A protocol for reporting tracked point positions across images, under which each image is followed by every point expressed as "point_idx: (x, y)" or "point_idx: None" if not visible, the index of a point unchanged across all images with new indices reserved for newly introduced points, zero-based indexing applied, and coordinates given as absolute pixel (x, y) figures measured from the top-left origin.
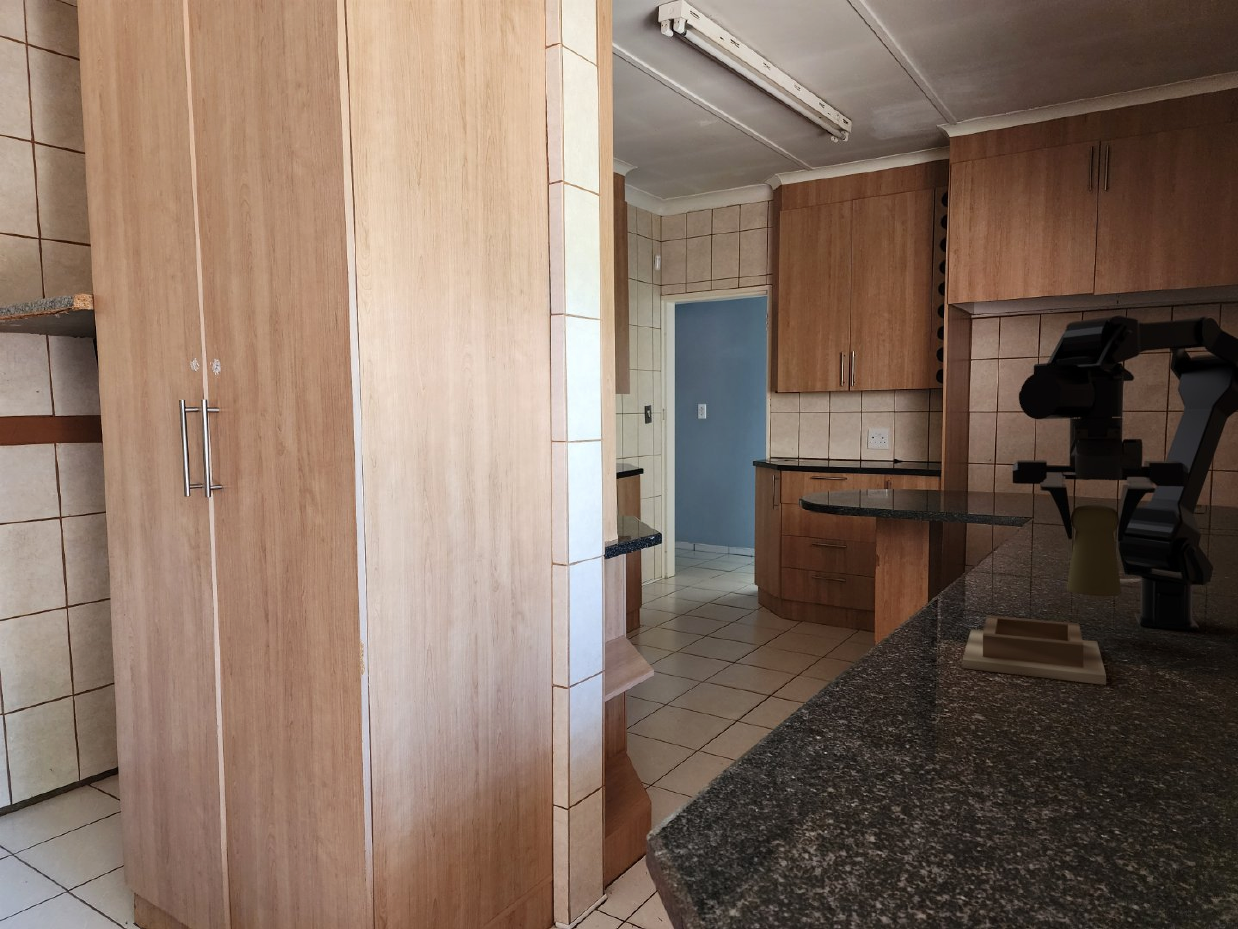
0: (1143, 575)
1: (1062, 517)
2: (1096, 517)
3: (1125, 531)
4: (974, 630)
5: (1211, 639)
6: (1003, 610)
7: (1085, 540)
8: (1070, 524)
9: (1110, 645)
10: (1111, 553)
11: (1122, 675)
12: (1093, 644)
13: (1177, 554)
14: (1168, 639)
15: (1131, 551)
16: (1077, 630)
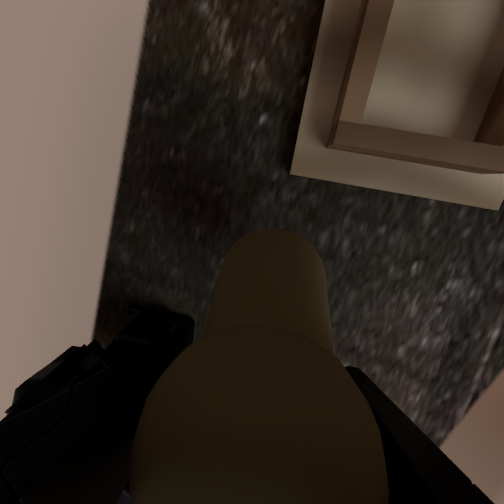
0: None
1: (446, 462)
2: (276, 369)
3: (147, 346)
4: (494, 204)
5: (121, 270)
6: None
7: (311, 319)
8: (380, 413)
9: (261, 207)
10: (226, 289)
11: (293, 9)
12: (301, 150)
13: (60, 379)
14: (173, 259)
15: None
16: (356, 72)
